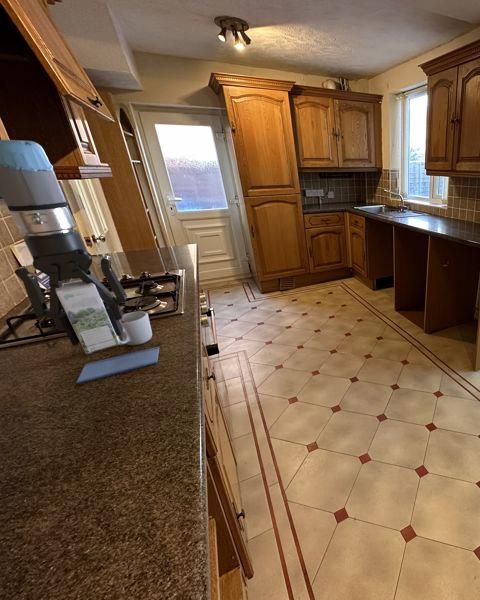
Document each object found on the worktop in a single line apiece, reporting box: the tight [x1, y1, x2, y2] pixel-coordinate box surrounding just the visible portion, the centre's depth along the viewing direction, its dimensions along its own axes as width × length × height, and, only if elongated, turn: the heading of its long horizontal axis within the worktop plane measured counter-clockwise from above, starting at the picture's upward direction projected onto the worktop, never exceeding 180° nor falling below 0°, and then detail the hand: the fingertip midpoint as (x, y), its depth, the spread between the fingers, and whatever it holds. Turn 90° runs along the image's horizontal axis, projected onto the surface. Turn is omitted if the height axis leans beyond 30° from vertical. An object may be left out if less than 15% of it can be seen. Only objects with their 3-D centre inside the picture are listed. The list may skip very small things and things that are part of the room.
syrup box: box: [56, 279, 121, 355], centre depth 68 cm, size 6×6×14 cm
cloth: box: [75, 346, 160, 385], centre depth 84 cm, size 16×9×1 cm, turn 121°
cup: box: [117, 310, 153, 346], centre depth 92 cm, size 11×8×8 cm
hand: (99, 337), depth 70 cm, fingers closed on syrup box, 6 cm apart
